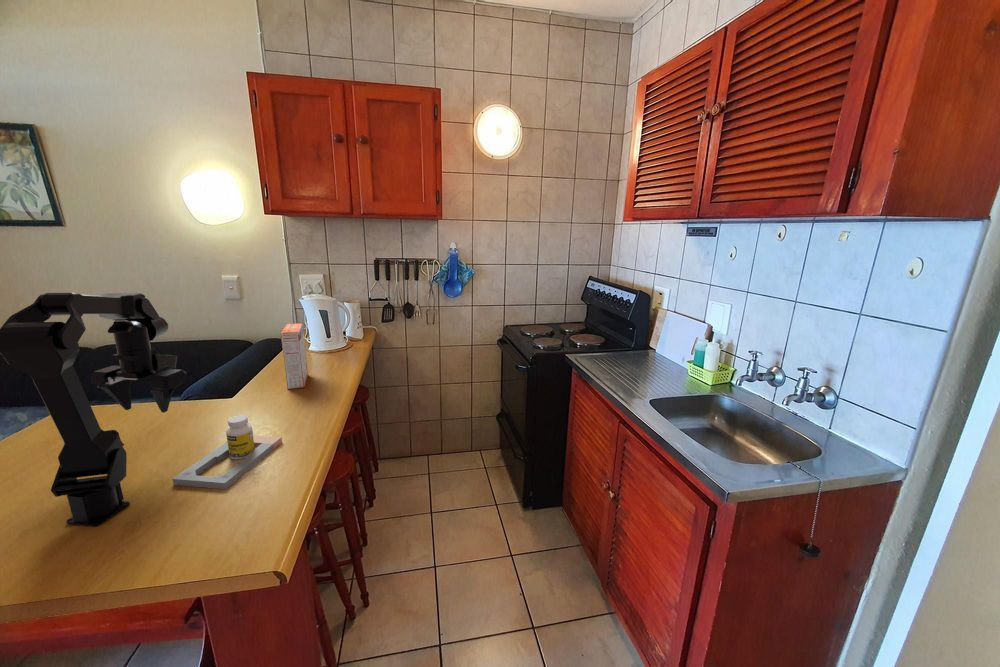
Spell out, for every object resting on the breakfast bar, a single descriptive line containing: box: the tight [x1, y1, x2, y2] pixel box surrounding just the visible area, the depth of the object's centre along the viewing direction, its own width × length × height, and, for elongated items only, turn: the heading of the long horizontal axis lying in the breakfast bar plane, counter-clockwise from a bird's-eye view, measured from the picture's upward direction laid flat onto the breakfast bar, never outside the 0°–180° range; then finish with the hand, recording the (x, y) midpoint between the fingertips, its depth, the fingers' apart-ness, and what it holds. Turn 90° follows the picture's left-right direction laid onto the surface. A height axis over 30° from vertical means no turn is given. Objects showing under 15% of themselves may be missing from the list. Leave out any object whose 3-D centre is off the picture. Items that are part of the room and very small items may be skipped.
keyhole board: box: [172, 434, 283, 490], centre depth 95 cm, size 20×12×2 cm, turn 176°
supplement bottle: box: [225, 414, 255, 460], centre depth 97 cm, size 5×5×10 cm
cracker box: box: [280, 322, 309, 390], centre depth 143 cm, size 14×6×21 cm, turn 20°
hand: (146, 410), depth 93 cm, fingers open, 9 cm apart
